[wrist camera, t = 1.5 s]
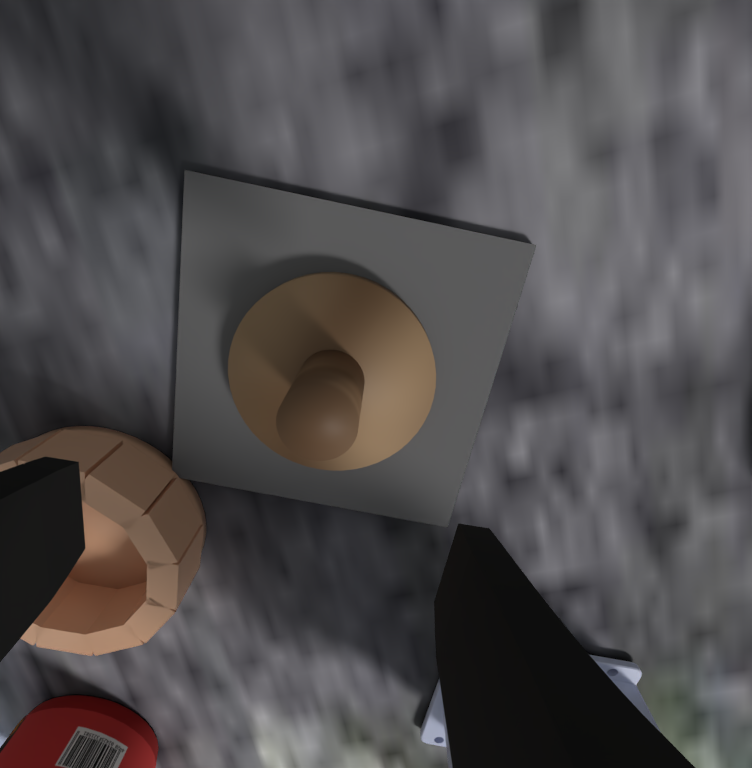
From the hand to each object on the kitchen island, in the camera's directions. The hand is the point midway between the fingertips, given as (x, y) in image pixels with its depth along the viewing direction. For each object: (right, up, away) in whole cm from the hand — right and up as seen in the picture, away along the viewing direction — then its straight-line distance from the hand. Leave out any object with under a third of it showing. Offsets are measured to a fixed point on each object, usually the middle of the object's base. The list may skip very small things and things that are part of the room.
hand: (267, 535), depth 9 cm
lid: (0, +3, +9) cm, 9 cm away
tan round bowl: (-10, -3, +12) cm, 16 cm away
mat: (0, +4, +9) cm, 10 cm away
